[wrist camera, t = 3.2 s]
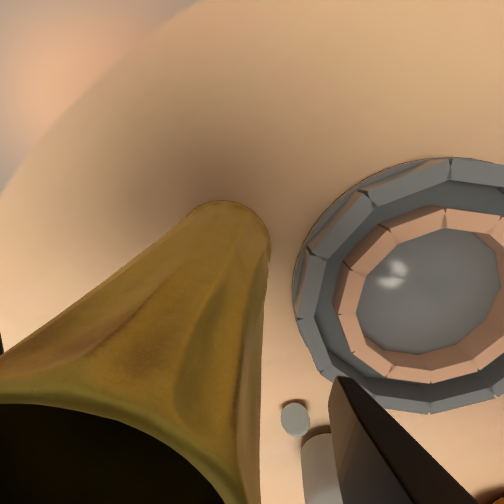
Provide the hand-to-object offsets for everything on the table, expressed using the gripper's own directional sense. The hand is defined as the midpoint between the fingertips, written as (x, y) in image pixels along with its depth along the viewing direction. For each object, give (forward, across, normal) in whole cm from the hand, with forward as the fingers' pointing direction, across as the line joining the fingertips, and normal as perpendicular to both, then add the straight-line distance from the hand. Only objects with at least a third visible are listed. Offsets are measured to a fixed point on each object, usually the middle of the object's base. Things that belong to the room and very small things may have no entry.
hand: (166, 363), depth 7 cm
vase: (+11, 0, 0) cm, 11 cm away
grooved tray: (+11, -13, +1) cm, 17 cm away
